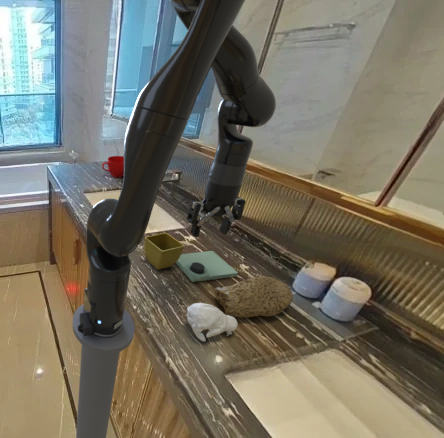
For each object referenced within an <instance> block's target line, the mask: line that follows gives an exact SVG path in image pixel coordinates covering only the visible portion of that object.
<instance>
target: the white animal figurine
mask: <svg viewBox="0 0 444 438" xmlns="http://www.w3.org/2000/svg"><path fill="white" fill-rule="evenodd" d="M186 310H187V314H186V318H187V323H188V325H189V326H190V327H191V330H192V331H193V333H194V335H195V336H196V337H197V339H199V340H200V341H201V342H206V338H211V337H214V336H217V335H220V334H222V333H224V332H225V334H227V335H226V336H229V335H233V332H234V331H236V330H237V329H238V325H239V324H238V321H237V318H236V317H233V316H229V315H226V314H225V312H223V311H222V310H221V309H219V308H218V307H216V306H214V305H212V304H210V303H203V302H195V303H192V304H191V305H189V306H188V307H187V308H186ZM205 330H209V331H208V332H207V333H206V337H205V335H204V333H203V331H205Z"/></svg>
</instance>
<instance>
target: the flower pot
mask: <svg viewBox="0 0 444 438" xmlns="http://www.w3.org/2000/svg"><path fill="white" fill-rule="evenodd" d="M185 247H186V246H185V244H183V243H182V242H180V240H178V239H176V238H174V236H173V235H170V234H169V233H168V232H161V233H157V234H153V235H147V236H144V254H145V257H146V259H147V261H148V262H149V264H151V265H152V266H153V267H154V268H155V269H157V270H158V271H159V270H163V269H166V268H170V267H172V266H173V265H175V264H176V262H177V261H178V259H179V258H180V256H181V254H183V251H184V249H185Z"/></svg>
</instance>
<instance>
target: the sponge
mask: <svg viewBox="0 0 444 438" xmlns="http://www.w3.org/2000/svg"><path fill="white" fill-rule="evenodd" d="M214 295H215V296H216V297H215V298H216V299H217V300H218V302H219V304H220V306H222V307H223V309H224V314H225V315H229V316H232V317H234V318H239V319H242V318H254V317H257V316H258V317H273V316H276V315H277V314H281V313H282V312H283V311H284V310H285V309H287V308H288V307H289V306H290V305H291V304H292V303H293V298H294V297H293V296H294V295H293V291H292V290H291V288H290V286H289V285H288V284H287V283H285V282H283V281H282V280H279V279H276V278H275V277H273V276H263V275H259V276H255V277H250V278H247V279H245V280H241V281H238V282H237V283H235V284H233V285H226V286H223V287H219V286H217V287H215V288H214Z"/></svg>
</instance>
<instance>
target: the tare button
mask: <svg viewBox="0 0 444 438" xmlns="http://www.w3.org/2000/svg"><path fill="white" fill-rule="evenodd" d="M190 269H191V271H192V272H194V273H196V274H202V273H203V272H204V269H205V267H204V265H202V264H201V263H197V262H194V263H192V265H191V268H190Z"/></svg>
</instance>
